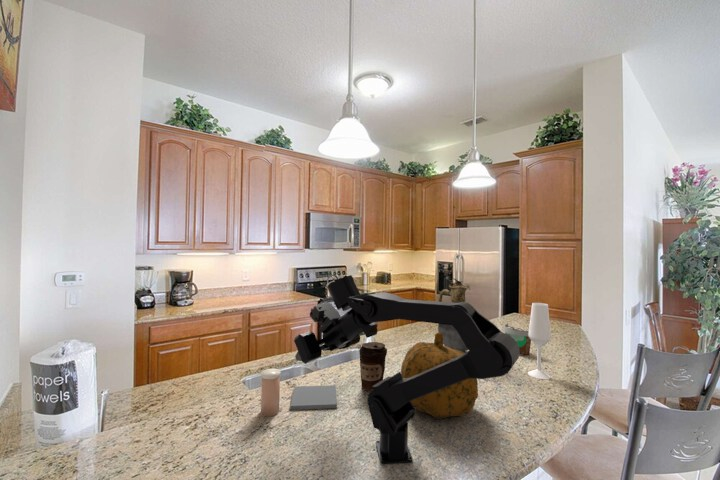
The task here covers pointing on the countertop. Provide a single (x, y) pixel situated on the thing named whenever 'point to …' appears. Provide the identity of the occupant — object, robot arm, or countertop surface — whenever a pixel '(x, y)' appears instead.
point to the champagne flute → (539, 334)
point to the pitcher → (448, 331)
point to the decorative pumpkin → (448, 399)
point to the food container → (519, 338)
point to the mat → (314, 397)
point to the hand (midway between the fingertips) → (310, 353)
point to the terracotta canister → (270, 392)
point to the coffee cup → (372, 364)
